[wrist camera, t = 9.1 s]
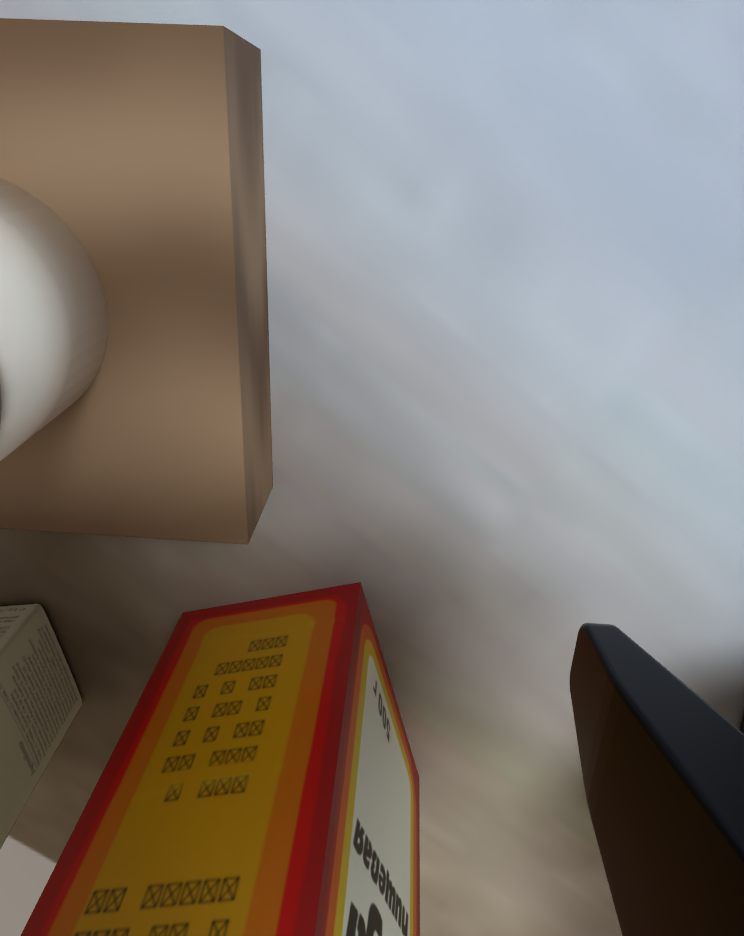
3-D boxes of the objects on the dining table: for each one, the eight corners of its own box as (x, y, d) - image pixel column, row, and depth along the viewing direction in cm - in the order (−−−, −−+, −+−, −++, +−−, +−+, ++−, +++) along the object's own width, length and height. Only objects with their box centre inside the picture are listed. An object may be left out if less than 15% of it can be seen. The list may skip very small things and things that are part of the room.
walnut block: (275, 479, 22) (248, 544, 19) (-82, 458, 23) (-176, 517, 19) (264, 51, 17) (223, 25, 13) (-197, 35, 18) (-356, 6, 14)
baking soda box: (419, 777, 27) (421, 1505, 13) (263, 797, 28) (100, 1491, 14) (360, 582, 23) (267, 1302, 9) (183, 612, 24) (-165, 1304, 10)
